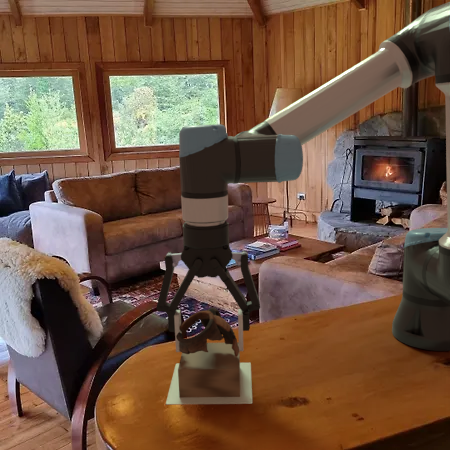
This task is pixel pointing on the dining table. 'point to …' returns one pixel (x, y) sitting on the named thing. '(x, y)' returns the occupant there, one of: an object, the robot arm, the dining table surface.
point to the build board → (243, 399)
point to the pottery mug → (206, 332)
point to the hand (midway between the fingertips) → (210, 348)
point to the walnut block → (210, 372)
